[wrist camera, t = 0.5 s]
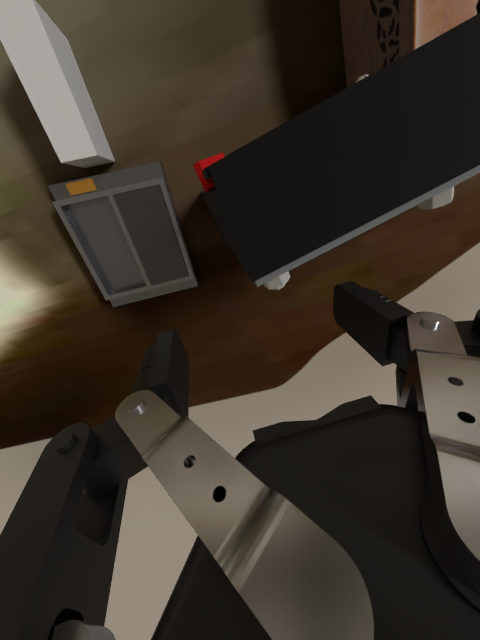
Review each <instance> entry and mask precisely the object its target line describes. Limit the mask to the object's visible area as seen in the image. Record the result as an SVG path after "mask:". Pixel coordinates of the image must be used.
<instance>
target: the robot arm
mask: <svg viewBox="0 0 480 640" xmlns="http://www.w3.org/2000/svg"><path fill="white" fill-rule="evenodd" d="M333 314H334V318H335V320H336V322H337V324H338V325H339V326H340V327H341V328H342V329H344V330H345V331H346V332H347V333H348V334H349V335H350V336H351V337H352V338H353V339H354V340H355V341H357V343H358V344H359V345H360V346H362V347H363V348H364V349H365V350H366V351H367V352H368V353H369V354H370V355H371V356H372V357H373V358H374V359H375V360H376V361H377V362H378V363H380V364H381V365H382V366H385V365H388V364H392V363H395V364H396V365H397V367H396V389H397V406H394V405H385V404H378V403H377V402H376V401H375V400H374V399H373V397H372V396H367V397H364V398H361V399H357V400H354V401H351V402H347V403H344V404H342V405H340V406H338V407H337V408H335V409H334V410H332V411H330V412H329V413H327V414H326V415H324V416H322V417H321V418H319V419H317V420H310V421H291V422H280V423H277V424H274V425H270V426H267V427H264V428H260V429H257V430H253V433H254V437H255V441H254V442H252V443H250V444H249V445H248V446H247V447H246V448H244V449H243V450H242V451H241V452H240V453H239V454H238V455H237V456H236V458H234V457H233V456H231V455H230V454H229V453H228V452H227V451H226V450H225V449H223V448H222V447H221V446H220V445H219V444H218V443H217V442H215V441H214V440H213V439H212V438H211V437H210V436H209V435H208V434H206V433H205V432H204V431H203V430H202V429H201V428H200V427H198V426H197V425H196V424H195V423H194V422H193V421H191V420H190V419H189V418H188V398H189V361H188V357H187V354H186V351H185V349H184V347H183V344H182V342H181V340H180V337H179V335H178V333H177V331H176V329H171V330H168V331H164V332H160V333H159V334H158V339H157V343H156V344H155V345H152V346H150V347H149V349H148V350H147V351H146V352H145V354H144V357H143V361H142V364H141V368H140V369H141V370H140V371H139V375H138V378H137V382H136V385H135V389H134V393H133V394H131V395H130V396H128V397H127V398H126V399H125V400H124V401H123V402H122V403H121V404H120V405H119V407H118V408H117V410H116V414H115V417H113V418H112V419H110V420H108V421H106V422H104V423H102V424H101V425H99V426H97V427H95V428H93V429H91V428H90V427H89V426H88V425H87V424H85V423H77V424H73V425H71V426H69V427H67V428H65V429H64V430H62V431H61V432H59V433H58V434H57V435H56V436H54V437H53V438H52V439H51V441H50V442H49V443H48V444H47V445H46V447H45V448H44V450H43V452H42V454H41V456H40V458H39V460H38V462H37V464H36V466H35V468H34V470H33V472H32V474H31V476H30V478H29V480H28V482H27V484H26V486H25V488H24V489H23V492H22V494H21V495H20V497H19V499H18V501H17V503H16V505H15V507H14V509H13V511H12V513H11V515H10V517H9V519H8V521H7V523H6V525H5V527H4V529H3V531H2V533H1V535H0V640H115V637H114V635H113V633H112V632H111V631H110V630H109V629H108V628H106V627H104V623H105V617H106V611H107V604H108V599H109V593H110V587H111V581H112V574H113V568H114V562H115V556H116V550H117V544H118V538H119V532H120V525H121V519H122V513H123V507H124V501H125V495H126V489H127V483H128V479H129V478H130V477H132V476H134V475H135V474H137V473H138V472H140V471H141V470H143V469H144V468H146V467H147V466H148V467H149V468H150V469H151V471H152V472H153V474H154V475H155V476H156V478H157V479H158V480H159V482H160V483H161V485H162V486H163V487H164V489H165V490H166V491H167V493H168V494H169V496H170V497H171V498H172V500H173V501H174V503H175V504H176V505H177V507H178V508H179V510H180V511H181V512H182V514H183V515H184V516H185V518H186V519H187V521H188V522H189V523H190V525H191V526H192V527H193V529H194V530H195V532H196V533H197V534H198V536H197V538H196V541H195V543H194V545H193V548H192V550H191V552H190V554H189V556H188V559H187V561H186V563H185V565H184V567H183V570H182V572H181V574H180V576H179V579H178V581H177V583H176V585H175V587H174V590H173V592H172V594H171V596H170V599H169V601H168V603H167V605H166V608H165V610H164V612H163V614H162V617H161V619H160V621H159V623H158V625H157V627H156V630H155V632H154V634H153V636H152V639H151V640H480V310H478V311H477V314H476V316H475V319H474V320H473V321H457V322H454V321H453V320H451V319H450V318H448V317H447V316H444V315H441V314H438V313H433V312H416V313H413V312H412V311H410V310H408V309H406V308H405V307H403V306H401V305H399V304H398V303H396V302H394V301H391V299H389V298H387V297H384V295H382V294H380V293H378V292H377V291H374V290H371V289H367V288H363V287H361V286H359V285H358V284H356V283H354V282H353V281H349V282H346V283H342V284H338V285H336V286H335V287H334V303H333Z"/></svg>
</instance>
